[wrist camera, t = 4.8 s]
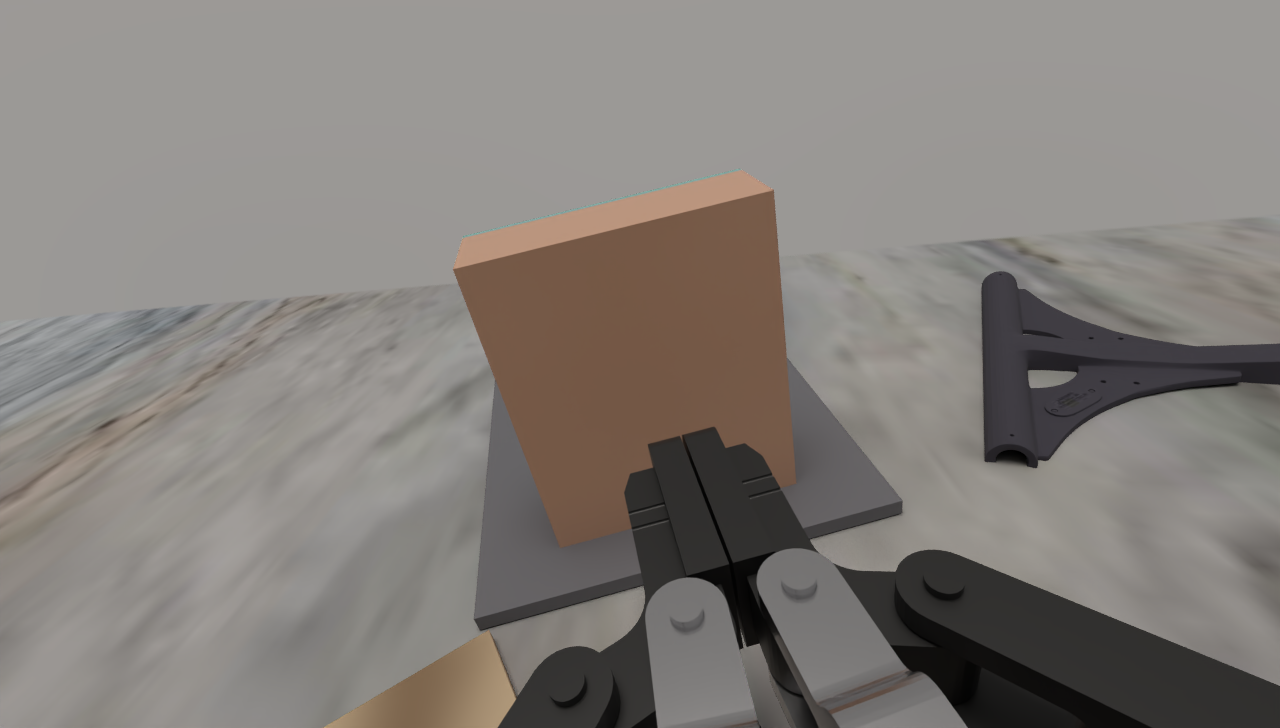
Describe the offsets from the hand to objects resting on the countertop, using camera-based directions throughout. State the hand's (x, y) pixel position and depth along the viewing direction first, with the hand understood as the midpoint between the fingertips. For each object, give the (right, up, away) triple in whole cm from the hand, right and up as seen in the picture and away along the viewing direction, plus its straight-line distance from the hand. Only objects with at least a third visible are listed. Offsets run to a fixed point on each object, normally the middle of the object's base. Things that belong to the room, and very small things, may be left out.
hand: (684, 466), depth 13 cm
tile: (0, -3, +10) cm, 10 cm away
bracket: (+21, +1, +11) cm, 24 cm away
